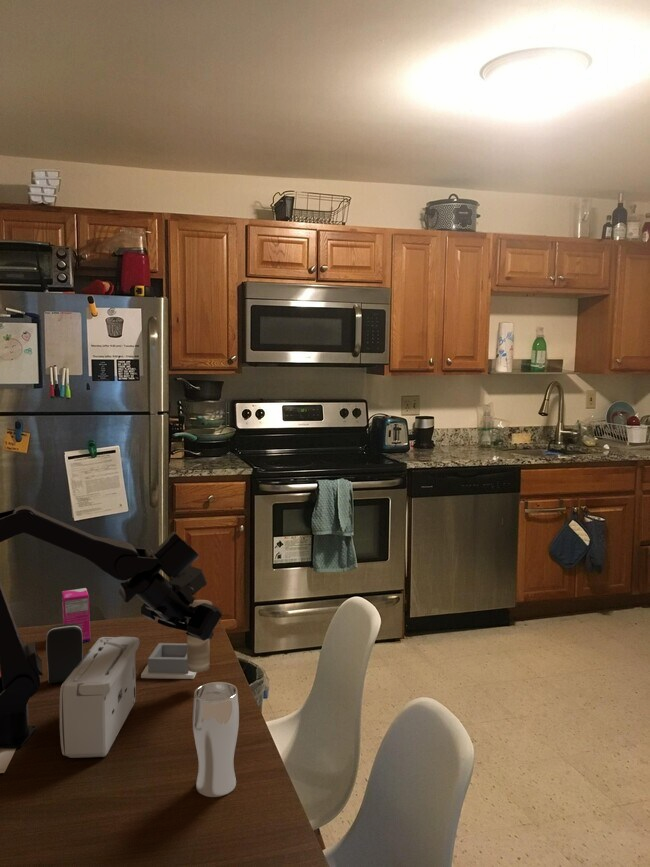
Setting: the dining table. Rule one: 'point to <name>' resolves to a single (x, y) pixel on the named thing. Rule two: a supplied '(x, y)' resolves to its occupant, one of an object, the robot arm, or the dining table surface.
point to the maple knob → (197, 648)
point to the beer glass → (215, 737)
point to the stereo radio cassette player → (98, 697)
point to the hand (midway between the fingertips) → (203, 633)
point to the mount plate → (168, 662)
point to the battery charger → (63, 651)
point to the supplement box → (77, 610)
